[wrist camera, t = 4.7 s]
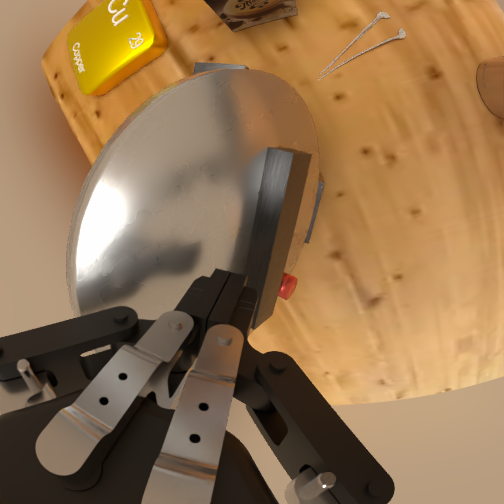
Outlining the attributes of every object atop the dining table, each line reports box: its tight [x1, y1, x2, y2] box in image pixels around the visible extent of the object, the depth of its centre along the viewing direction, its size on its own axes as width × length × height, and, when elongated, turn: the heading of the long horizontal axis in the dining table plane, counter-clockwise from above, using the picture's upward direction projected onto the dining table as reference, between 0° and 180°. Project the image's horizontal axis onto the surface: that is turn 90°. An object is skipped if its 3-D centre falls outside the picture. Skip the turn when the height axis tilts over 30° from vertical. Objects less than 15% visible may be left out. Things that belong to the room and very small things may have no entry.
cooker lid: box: [66, 69, 319, 370], centre depth 17 cm, size 20×20×3 cm
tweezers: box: [319, 12, 406, 80], centre depth 27 cm, size 17×5×2 cm, turn 134°
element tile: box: [67, 0, 168, 96], centre depth 28 cm, size 15×15×5 cm
